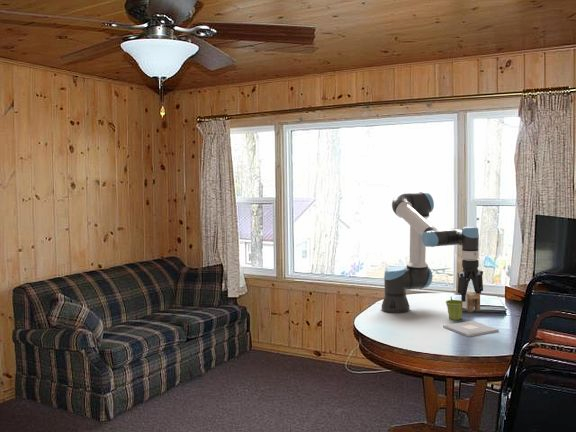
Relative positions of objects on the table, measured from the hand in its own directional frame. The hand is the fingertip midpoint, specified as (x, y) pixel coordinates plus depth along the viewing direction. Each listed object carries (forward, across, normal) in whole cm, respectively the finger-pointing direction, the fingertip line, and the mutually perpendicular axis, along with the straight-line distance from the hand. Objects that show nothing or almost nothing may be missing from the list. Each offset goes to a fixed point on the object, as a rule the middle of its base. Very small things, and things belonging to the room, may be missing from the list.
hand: (470, 307), depth 273 cm
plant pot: (+11, +7, +19) cm, 23 cm away
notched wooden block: (+1, 0, 0) cm, 1 cm away
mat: (+11, 0, 0) cm, 11 cm away
